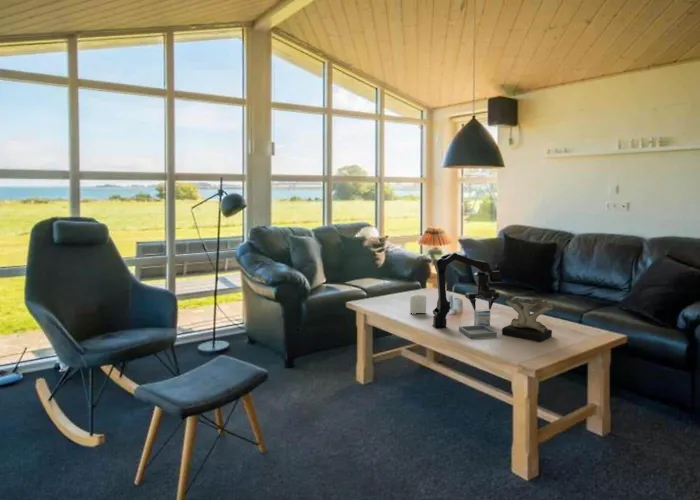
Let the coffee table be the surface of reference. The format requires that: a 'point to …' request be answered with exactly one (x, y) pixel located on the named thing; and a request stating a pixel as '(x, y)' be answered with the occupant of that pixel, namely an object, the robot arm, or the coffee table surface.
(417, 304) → the photo printer
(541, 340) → the coral
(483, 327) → the tray
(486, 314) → the medicine box
